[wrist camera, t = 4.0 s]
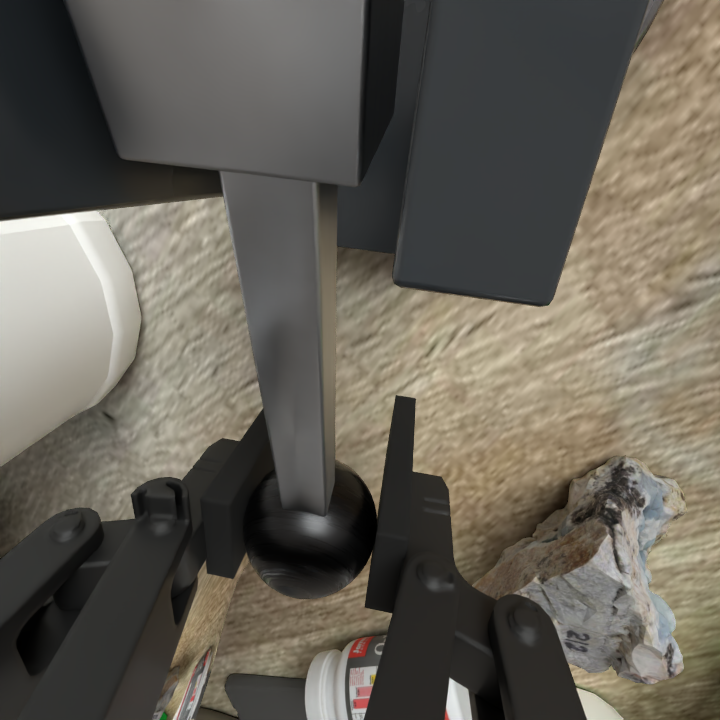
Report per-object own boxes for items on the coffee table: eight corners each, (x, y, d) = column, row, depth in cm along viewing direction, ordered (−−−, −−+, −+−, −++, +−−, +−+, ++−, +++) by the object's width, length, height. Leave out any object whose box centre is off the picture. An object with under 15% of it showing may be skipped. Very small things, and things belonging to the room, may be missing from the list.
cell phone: (245, 737, 35) (250, 723, 36) (413, 756, 32) (413, 741, 33) (219, 685, 32) (225, 672, 33) (402, 702, 29) (403, 686, 30)
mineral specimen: (577, 480, 26) (481, 411, 22) (742, 512, 19) (649, 421, 15) (538, 640, 23) (417, 597, 19) (718, 747, 16) (592, 716, 12)
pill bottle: (443, 620, 24) (301, 639, 27) (464, 753, 20) (296, 758, 23) (467, 630, 28) (341, 646, 31) (488, 743, 24) (342, 749, 27)
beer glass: (206, 447, 23) (-101, 830, 10) (299, 517, 24) (141, 943, 11) (152, 506, 26) (-144, 865, 12) (238, 567, 27) (52, 952, 14)
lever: (380, 504, 13) (361, 629, 11) (276, 484, 14) (233, 601, 11) (517, -261, 3) (688, -946, 1) (129, -265, 4) (-563, -777, 1)
